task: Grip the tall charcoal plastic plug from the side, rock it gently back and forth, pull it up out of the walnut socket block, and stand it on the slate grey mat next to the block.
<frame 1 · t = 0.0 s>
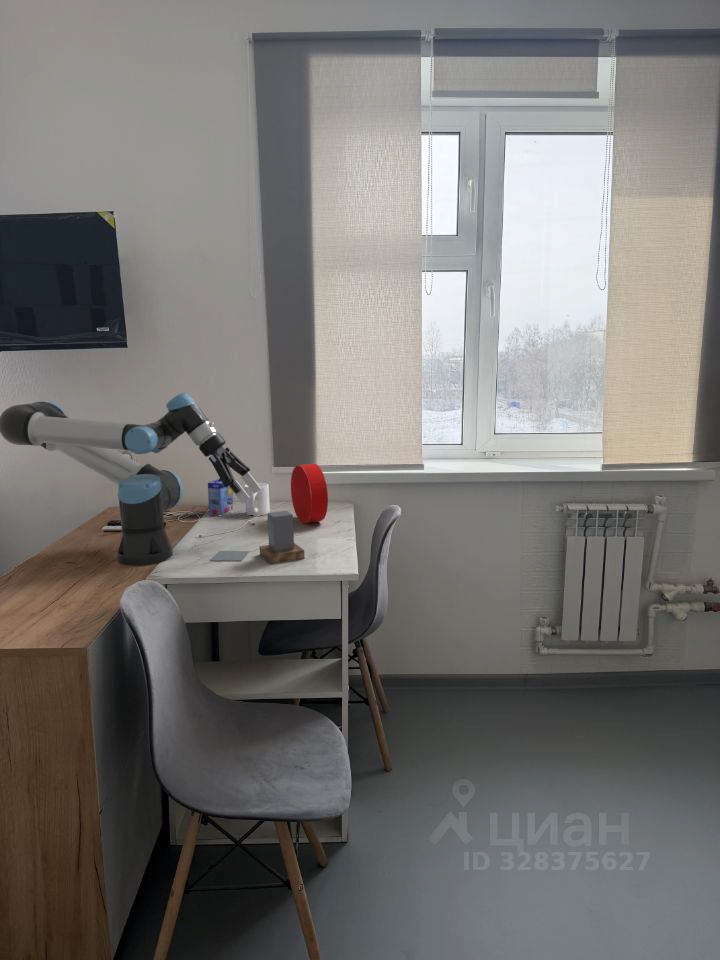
hand: (252, 496, 200), 15 cm above the table, tool tilted 35°, fingers open, 13 cm apart
socket block: (282, 558, 188), on the table
plug: (281, 556, 188), point 1 cm above the table, touching socket block
ink cartridge box: (221, 513, 245), on the table
mug: (257, 515, 241), on the table
mat: (230, 558, 190), on the table
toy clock: (309, 522, 229), on the table
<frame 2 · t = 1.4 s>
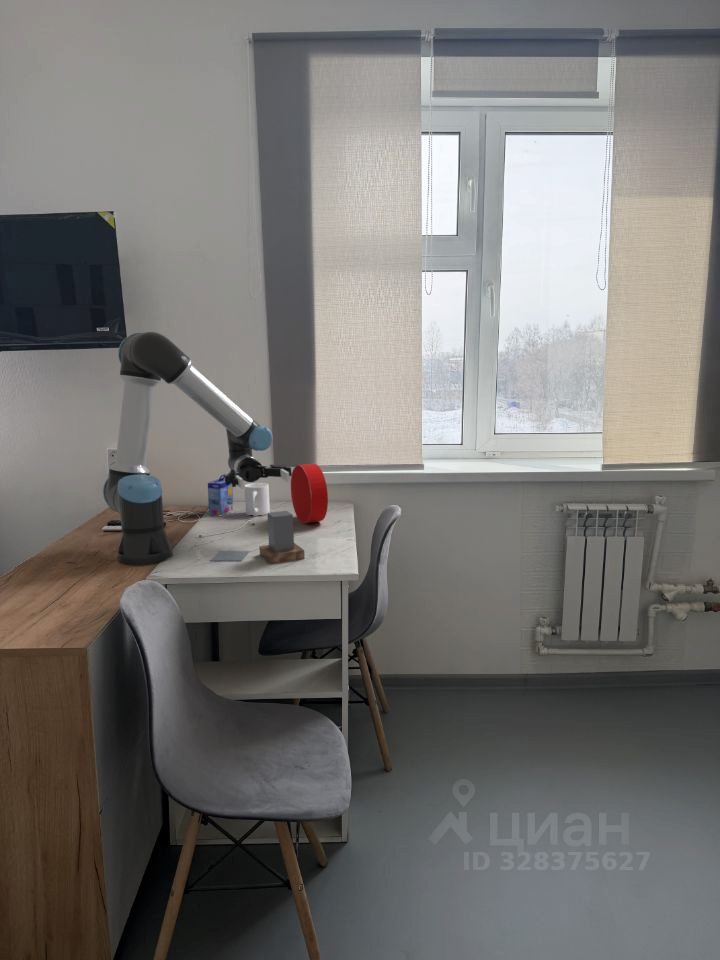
hand: (265, 480, 192), 21 cm above the table, tool horizontal, fingers open, 13 cm apart
nothing on the table moved.
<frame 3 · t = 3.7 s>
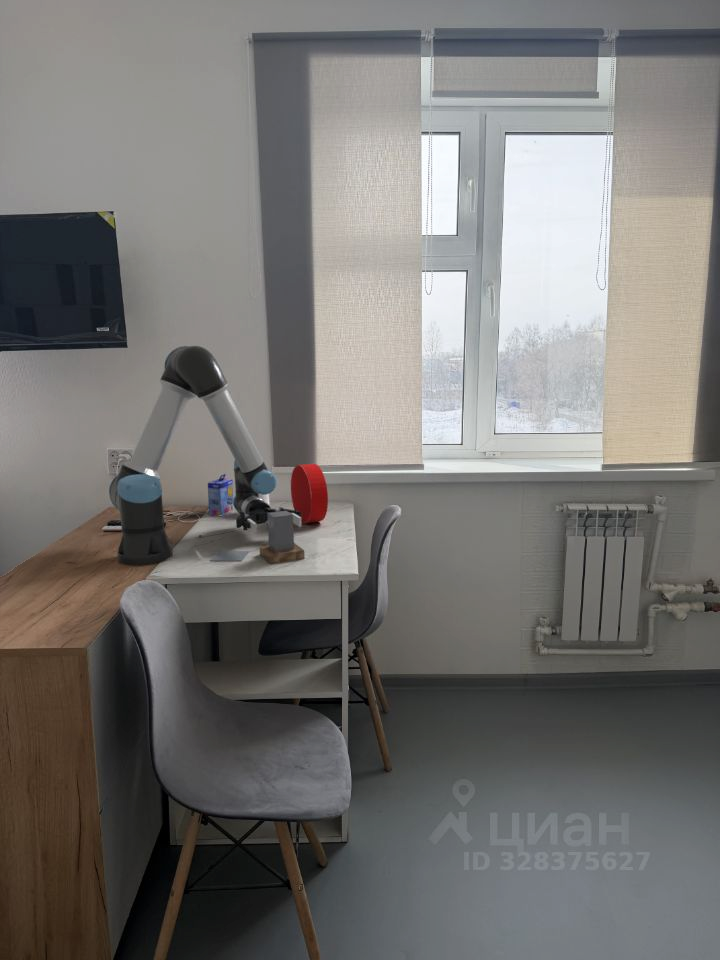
hand: (278, 525, 192), 8 cm above the table, tool horizontal, fingers open, 13 cm apart
nothing on the table moved.
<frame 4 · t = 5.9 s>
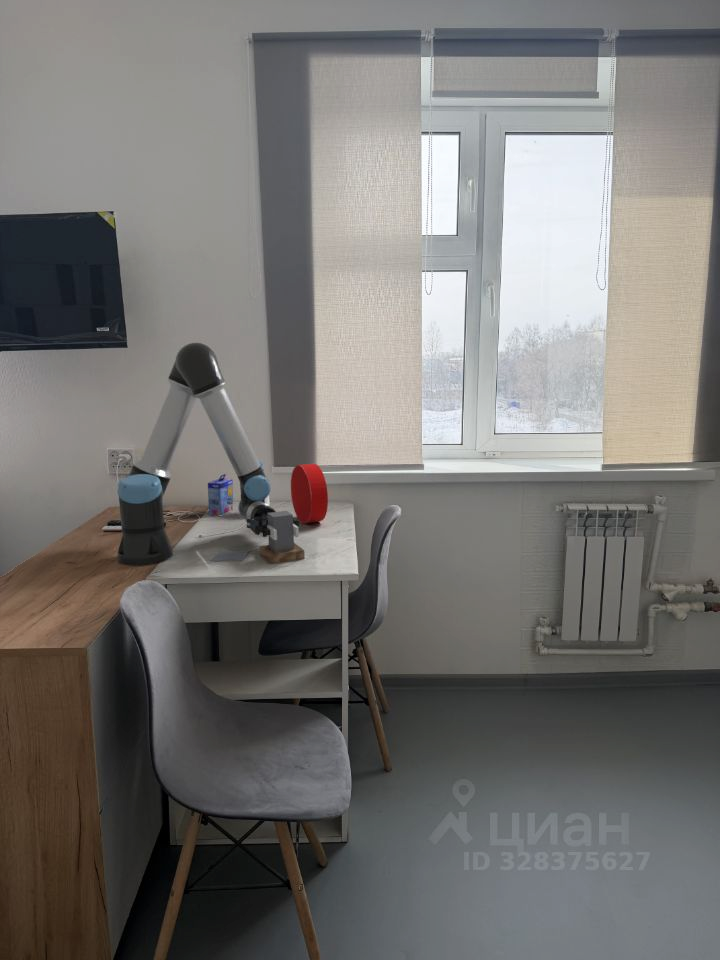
hand: (286, 533, 182), 8 cm above the table, tool horizontal, fingers closed on plug, 6 cm apart
plug: (281, 556, 188), point 1 cm above the table, touching gripper, socket block
everything else where it was.
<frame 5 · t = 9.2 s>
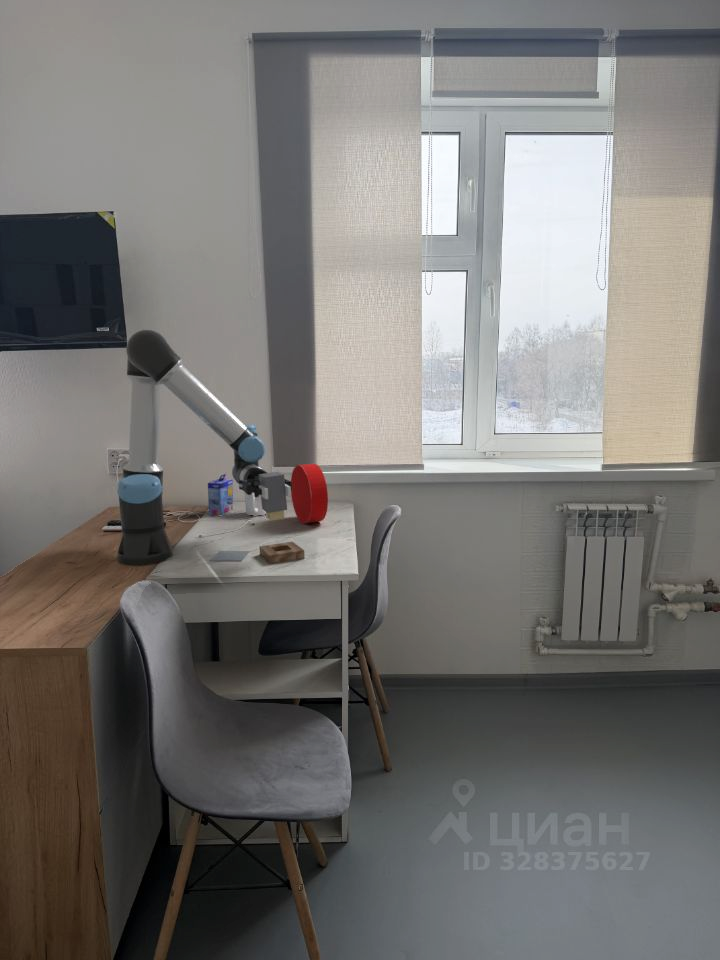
hand: (278, 492, 180), 20 cm above the table, tool horizontal, fingers closed on plug, 6 cm apart
plug: (275, 517, 187), point 12 cm above the table, touching gripper
everything else where it was.
when the fingers open (10 cm above the table, at t = 12.7 s): plug drops 1 cm, resting on mat.
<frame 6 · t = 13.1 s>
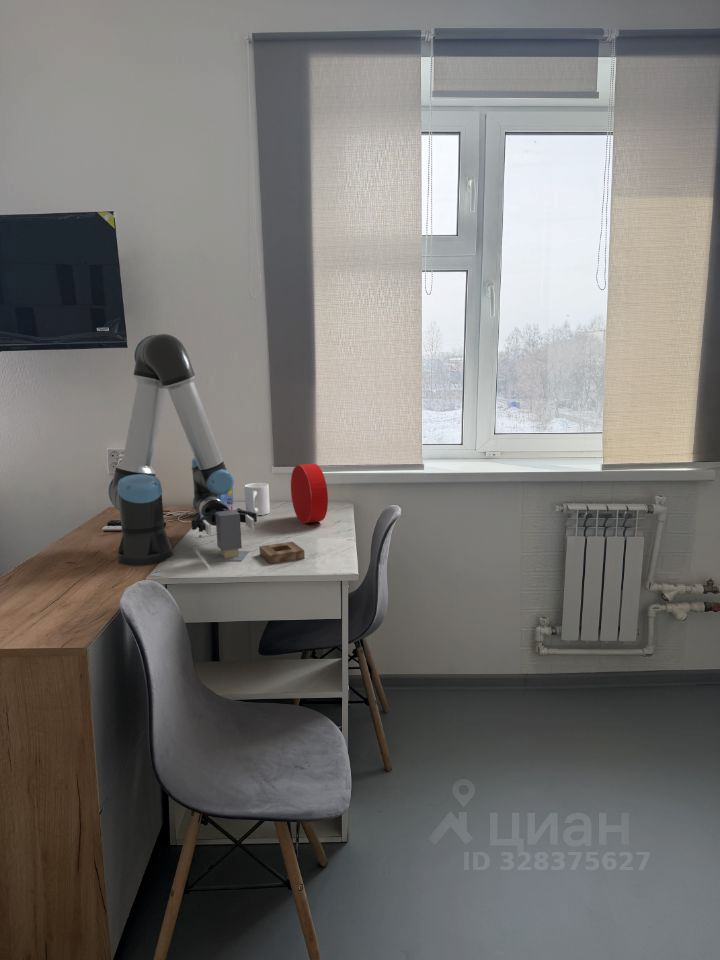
hand: (231, 527, 185), 10 cm above the table, tool horizontal, fingers open, 11 cm apart
plug: (230, 555, 190), point 1 cm above the table, touching mat
everything else where it was.
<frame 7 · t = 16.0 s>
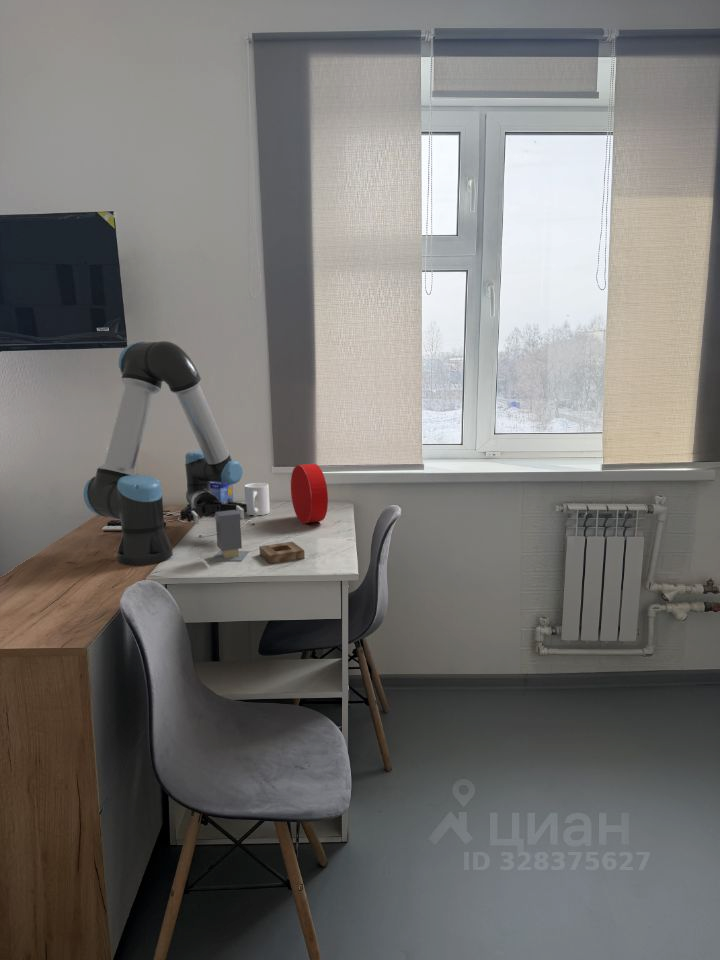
hand: (220, 517, 197), 10 cm above the table, tool horizontal, fingers open, 13 cm apart
nothing on the table moved.
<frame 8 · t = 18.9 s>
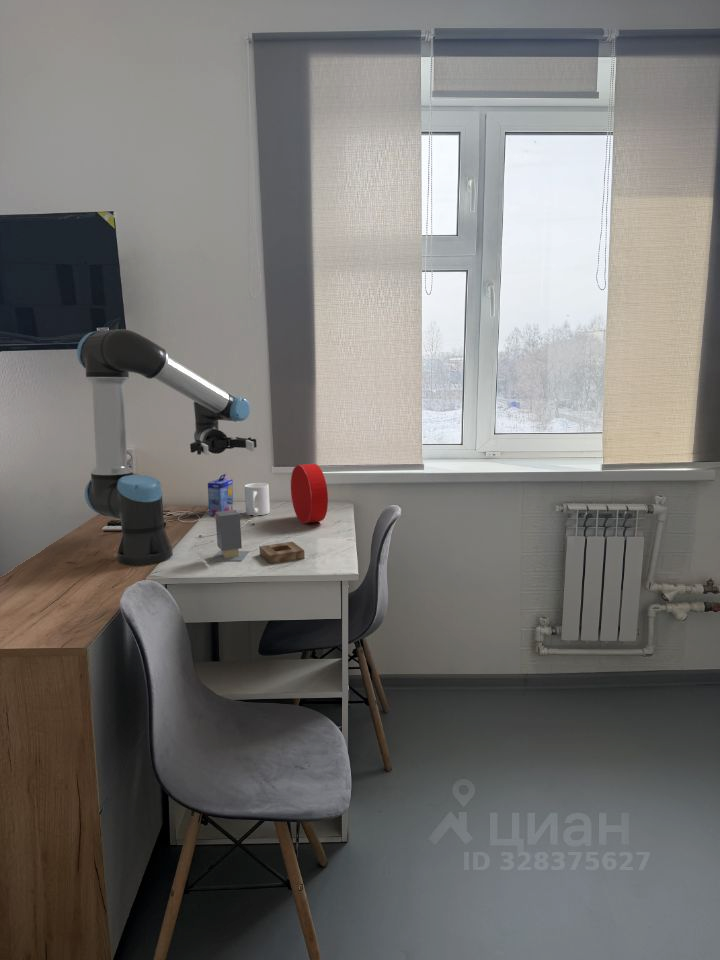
hand: (230, 448, 195), 30 cm above the table, tool horizontal, fingers open, 13 cm apart
nothing on the table moved.
at the end: plug inside the target area (0.0 cm from its centre), point 0.8 cm above the table; plug tilted 0°; the gripper is holding nothing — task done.
